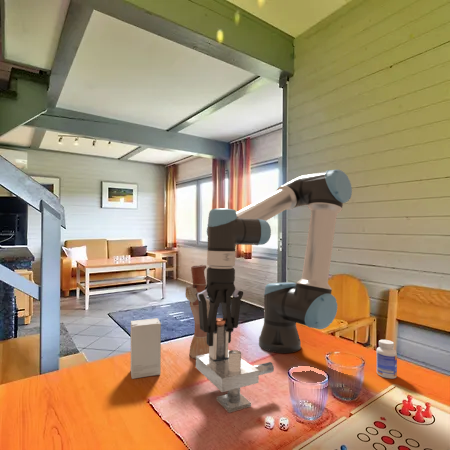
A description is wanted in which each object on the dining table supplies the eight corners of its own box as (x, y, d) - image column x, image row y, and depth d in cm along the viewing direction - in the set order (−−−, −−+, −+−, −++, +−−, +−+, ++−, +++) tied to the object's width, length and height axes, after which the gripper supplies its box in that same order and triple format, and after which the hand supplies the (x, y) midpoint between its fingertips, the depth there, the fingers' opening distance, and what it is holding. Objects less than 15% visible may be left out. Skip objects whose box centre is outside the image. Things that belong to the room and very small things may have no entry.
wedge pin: (209, 372, 81) (210, 318, 82) (220, 369, 83) (222, 317, 84) (215, 377, 78) (216, 322, 79) (226, 375, 80) (228, 320, 81)
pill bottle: (399, 380, 88) (399, 345, 88) (379, 378, 89) (379, 343, 89) (393, 372, 93) (393, 339, 94) (374, 370, 94) (374, 337, 95)
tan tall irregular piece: (206, 349, 108) (209, 263, 109) (216, 356, 102) (218, 265, 103) (178, 354, 103) (181, 264, 104) (186, 362, 97) (189, 266, 98)
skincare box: (157, 367, 93) (159, 317, 93) (160, 375, 87) (162, 322, 88) (128, 370, 90) (130, 319, 90) (129, 380, 84) (131, 325, 85)
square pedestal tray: (195, 386, 81) (196, 340, 82) (246, 374, 89) (247, 332, 90) (221, 415, 69) (222, 360, 69) (277, 398, 76) (278, 349, 77)
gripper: (199, 269, 75) (196, 367, 74) (253, 267, 82) (251, 356, 81) (187, 266, 81) (184, 356, 80) (238, 265, 89) (236, 347, 88)
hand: (218, 356), depth 81 cm, fingers closed on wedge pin, 3 cm apart
